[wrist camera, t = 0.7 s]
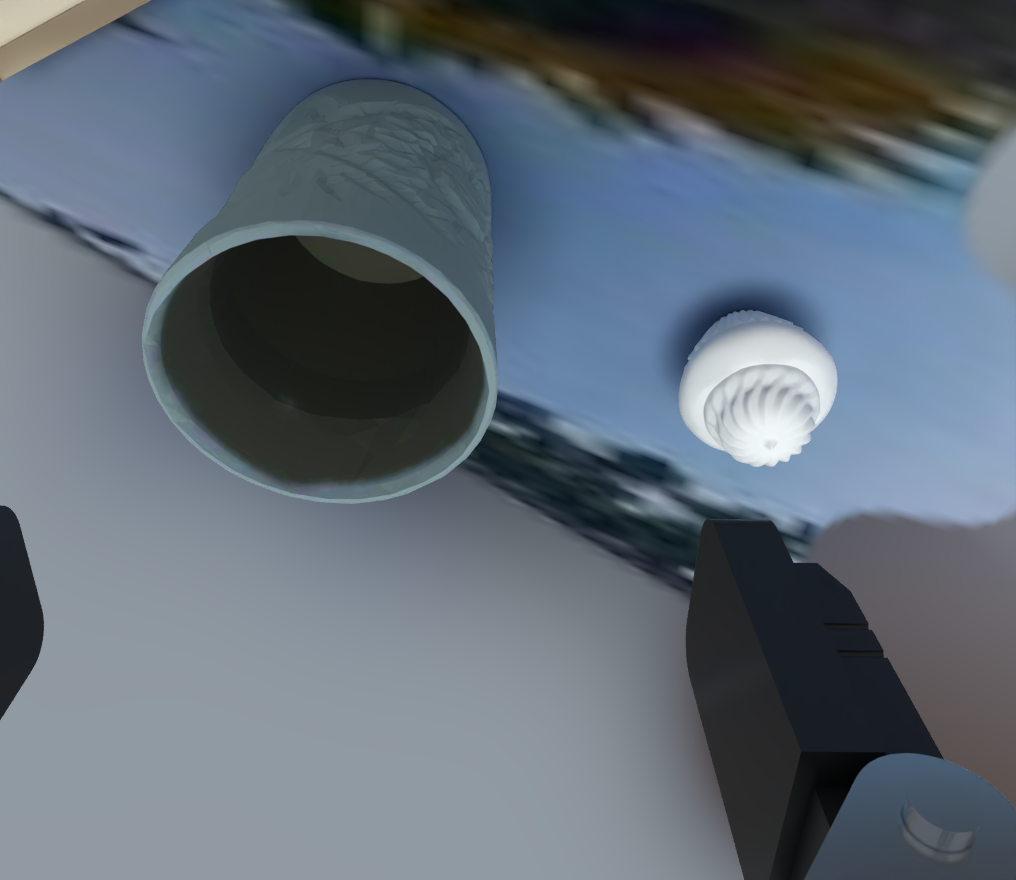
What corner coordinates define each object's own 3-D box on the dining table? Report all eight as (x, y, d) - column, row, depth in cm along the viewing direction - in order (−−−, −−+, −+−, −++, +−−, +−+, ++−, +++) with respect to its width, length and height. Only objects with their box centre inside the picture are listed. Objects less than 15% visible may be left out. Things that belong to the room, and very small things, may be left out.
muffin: (694, 414, 42) (715, 525, 37) (649, 309, 38) (665, 416, 33) (831, 370, 40) (875, 480, 35) (797, 256, 37) (839, 359, 31)
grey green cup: (535, 92, 33) (529, 263, 24) (485, 326, 39) (466, 531, 30) (246, 33, 32) (124, 187, 23) (244, 283, 38) (150, 481, 29)
